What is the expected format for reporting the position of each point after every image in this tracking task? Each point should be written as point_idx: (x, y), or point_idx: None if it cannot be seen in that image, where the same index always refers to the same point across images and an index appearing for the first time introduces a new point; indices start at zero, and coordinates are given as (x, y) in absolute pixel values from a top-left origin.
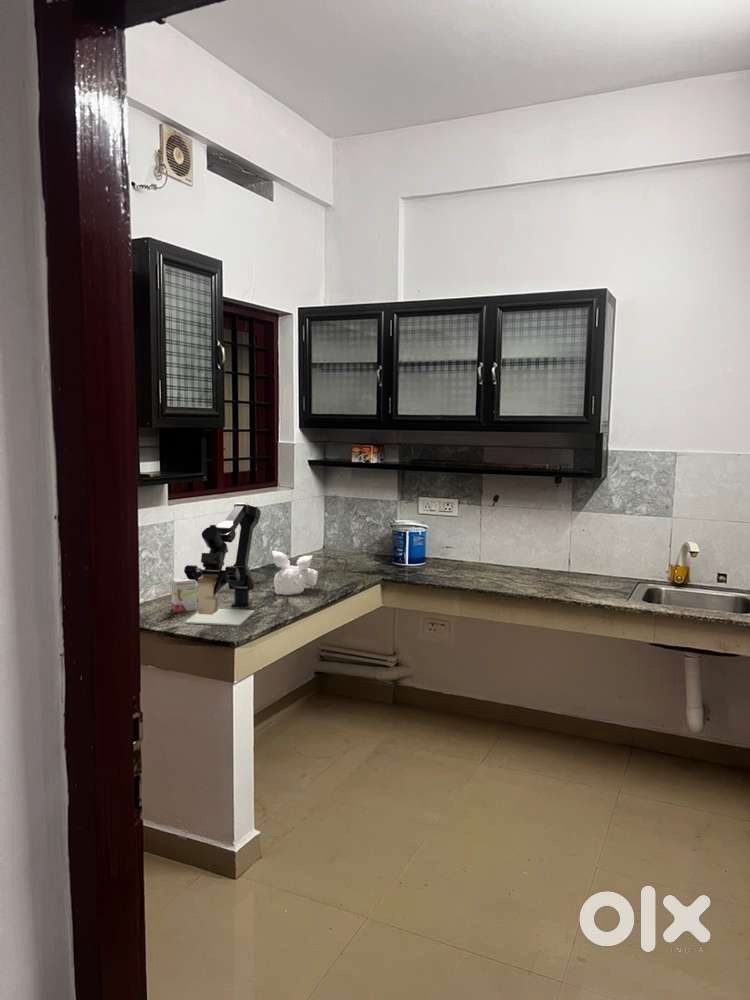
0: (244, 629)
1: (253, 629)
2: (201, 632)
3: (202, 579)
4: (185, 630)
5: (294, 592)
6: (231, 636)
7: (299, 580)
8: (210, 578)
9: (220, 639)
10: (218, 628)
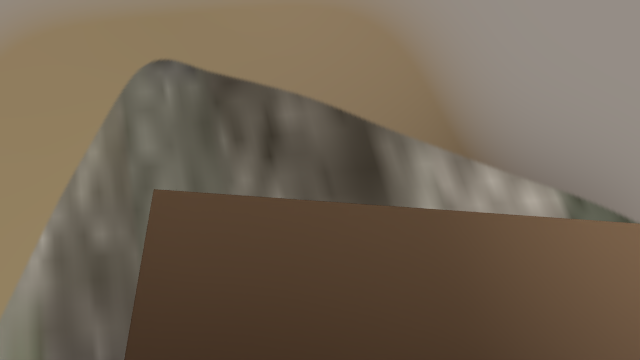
0: (115, 299)
1: (58, 302)
2: None
3: (486, 216)
4: None
5: None
6: (177, 142)
7: None
8: (213, 269)
9: (231, 80)
10: None
